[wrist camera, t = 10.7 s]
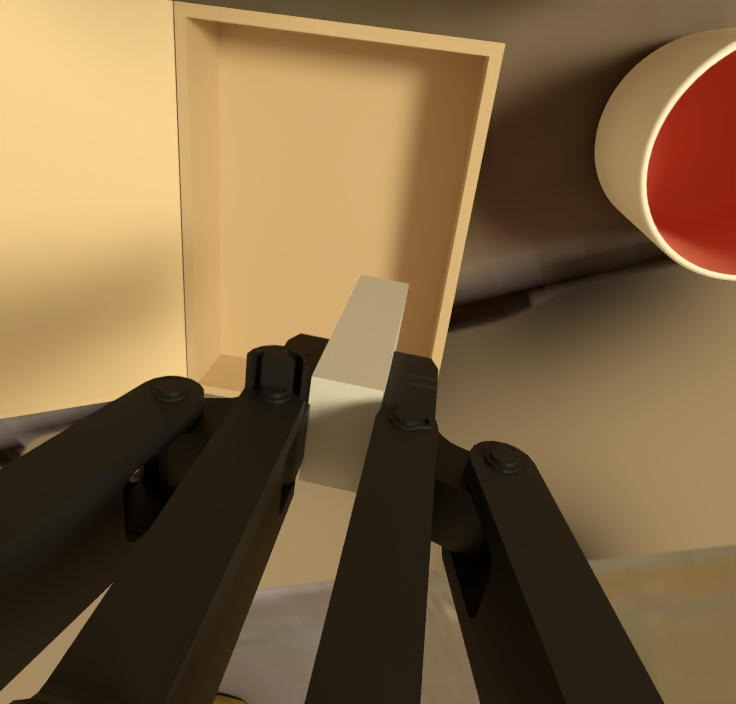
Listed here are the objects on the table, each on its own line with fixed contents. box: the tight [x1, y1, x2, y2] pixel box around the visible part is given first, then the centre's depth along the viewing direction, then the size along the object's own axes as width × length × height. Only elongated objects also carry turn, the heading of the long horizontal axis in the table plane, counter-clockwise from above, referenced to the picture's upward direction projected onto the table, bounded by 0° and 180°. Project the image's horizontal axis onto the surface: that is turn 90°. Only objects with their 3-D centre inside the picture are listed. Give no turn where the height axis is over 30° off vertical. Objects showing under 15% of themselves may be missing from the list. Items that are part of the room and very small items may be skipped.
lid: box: [0, 0, 187, 419], centre depth 29 cm, size 22×16×1 cm
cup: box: [594, 27, 736, 281], centre depth 27 cm, size 10×10×10 cm
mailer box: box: [174, 1, 505, 398], centre depth 34 cm, size 22×16×5 cm
